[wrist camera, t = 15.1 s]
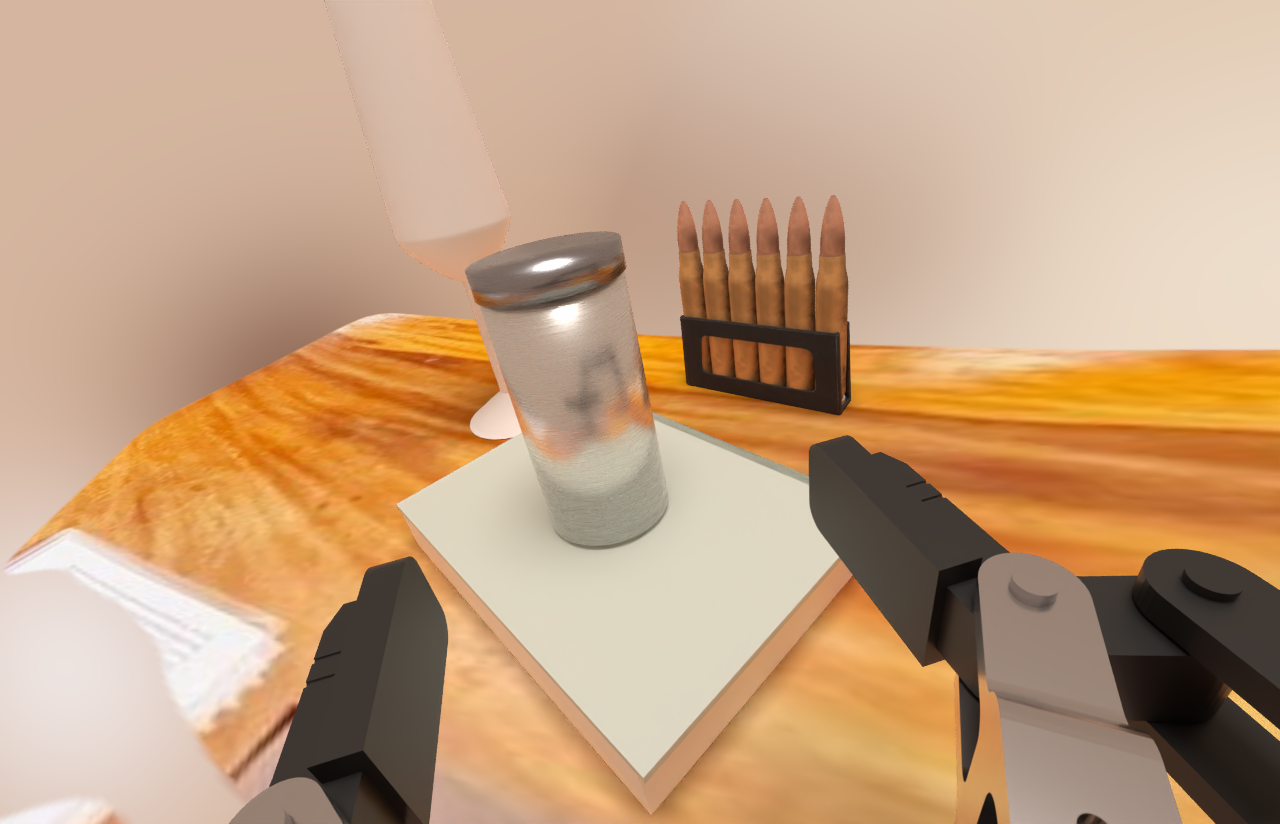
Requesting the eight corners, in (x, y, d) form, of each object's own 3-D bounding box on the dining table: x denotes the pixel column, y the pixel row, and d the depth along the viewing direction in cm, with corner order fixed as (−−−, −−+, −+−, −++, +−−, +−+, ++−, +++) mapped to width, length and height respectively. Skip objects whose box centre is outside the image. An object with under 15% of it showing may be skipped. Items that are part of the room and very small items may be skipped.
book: (607, 429, 35) (597, 389, 33) (879, 560, 22) (883, 506, 21) (419, 547, 28) (396, 504, 26) (660, 829, 16) (643, 778, 14)
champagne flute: (456, 444, 36) (267, -5, 23) (484, 394, 41) (346, 12, 29) (554, 433, 35) (412, -40, 23) (569, 383, 40) (463, -15, 28)
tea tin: (648, 455, 26) (600, 225, 21) (689, 519, 22) (640, 244, 17) (541, 491, 25) (463, 258, 20) (560, 565, 21) (465, 288, 16)
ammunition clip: (686, 384, 37) (660, 205, 31) (699, 372, 39) (678, 197, 32) (840, 415, 31) (846, 199, 25) (851, 400, 32) (859, 190, 26)
